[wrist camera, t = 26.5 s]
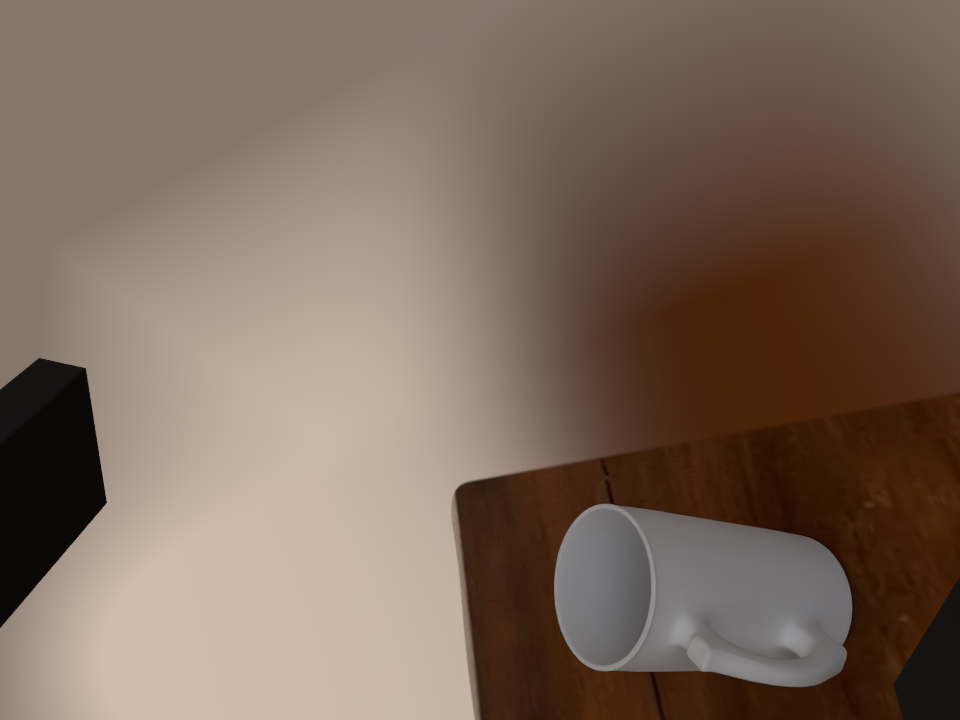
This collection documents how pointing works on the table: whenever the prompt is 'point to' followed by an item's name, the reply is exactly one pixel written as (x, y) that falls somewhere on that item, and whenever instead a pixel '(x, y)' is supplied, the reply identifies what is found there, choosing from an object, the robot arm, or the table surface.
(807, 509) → the table surface
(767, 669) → the mug
